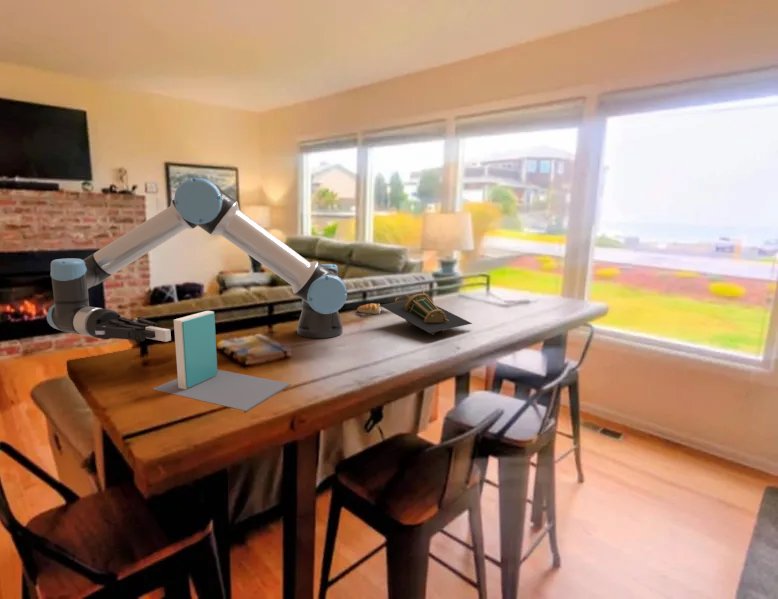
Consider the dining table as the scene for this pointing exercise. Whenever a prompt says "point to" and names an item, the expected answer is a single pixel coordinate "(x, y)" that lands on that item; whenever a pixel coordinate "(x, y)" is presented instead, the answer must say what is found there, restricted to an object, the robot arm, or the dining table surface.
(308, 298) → the robot arm
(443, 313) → the lantern
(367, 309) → the pastry
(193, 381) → the tile
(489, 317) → the dining table surface
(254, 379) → the mat
